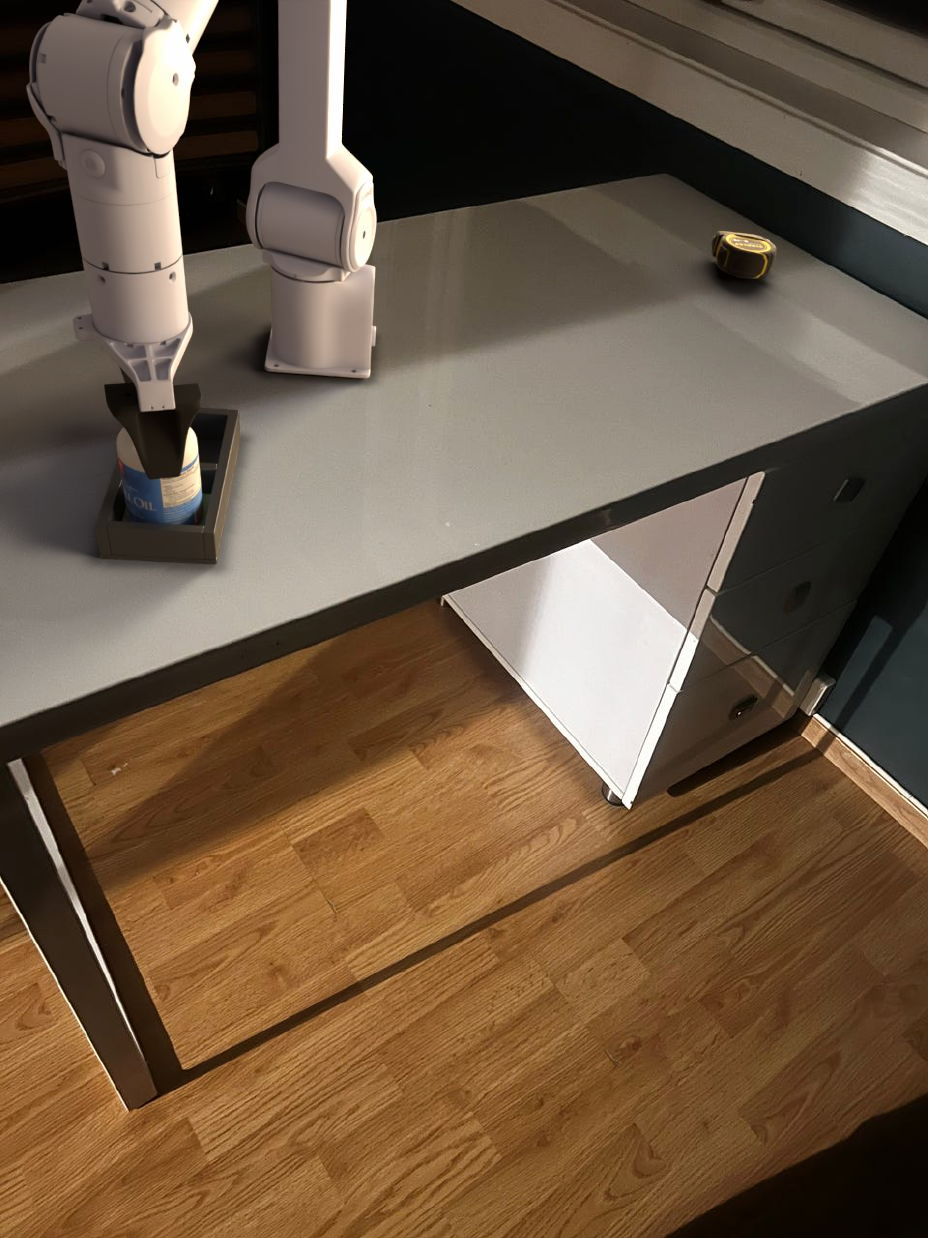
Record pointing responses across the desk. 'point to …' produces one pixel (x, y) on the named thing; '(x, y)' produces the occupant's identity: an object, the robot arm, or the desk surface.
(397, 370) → the desk surface
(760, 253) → the tape measure
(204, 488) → the divided tray
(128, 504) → the pill bottle
